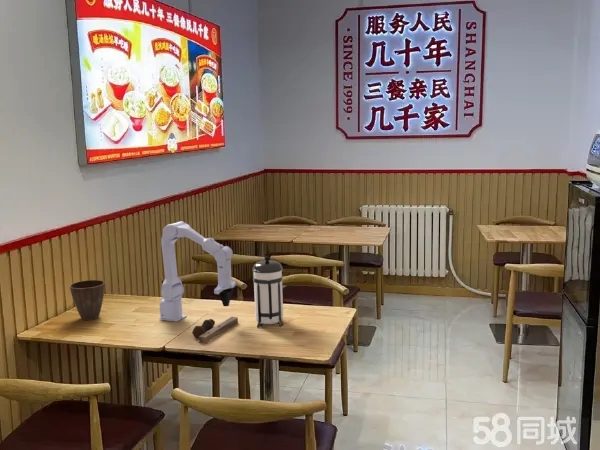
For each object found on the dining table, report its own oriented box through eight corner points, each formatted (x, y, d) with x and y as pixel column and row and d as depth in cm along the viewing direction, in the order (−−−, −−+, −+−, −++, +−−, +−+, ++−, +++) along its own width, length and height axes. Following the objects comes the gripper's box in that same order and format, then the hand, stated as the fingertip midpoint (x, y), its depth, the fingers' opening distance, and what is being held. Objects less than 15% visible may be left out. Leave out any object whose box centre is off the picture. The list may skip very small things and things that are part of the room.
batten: (199, 342, 233) (198, 336, 233) (231, 322, 257) (231, 316, 256) (205, 343, 232) (205, 337, 232) (237, 322, 256) (237, 316, 255)
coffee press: (243, 325, 253) (240, 257, 248) (269, 315, 264) (267, 250, 259) (271, 333, 241) (268, 262, 236) (298, 323, 252) (295, 255, 247)
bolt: (213, 330, 252) (200, 342, 238) (204, 324, 253) (190, 335, 239) (219, 319, 251) (206, 330, 237) (209, 313, 252) (196, 323, 237)
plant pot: (68, 317, 270) (65, 283, 267) (100, 310, 279) (98, 278, 276) (78, 325, 258) (75, 290, 255) (111, 318, 267) (109, 284, 264)
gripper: (223, 280, 242) (225, 311, 244) (241, 271, 255) (242, 301, 257) (209, 278, 245) (210, 310, 247) (227, 270, 258) (228, 300, 260)
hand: (226, 305), depth 253 cm, fingers closed
